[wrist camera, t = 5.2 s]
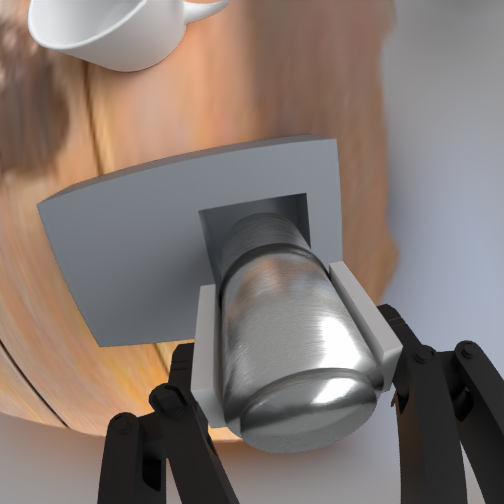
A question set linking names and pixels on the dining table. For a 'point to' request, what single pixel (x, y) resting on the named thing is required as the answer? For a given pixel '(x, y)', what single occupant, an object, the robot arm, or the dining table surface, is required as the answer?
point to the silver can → (288, 343)
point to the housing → (183, 229)
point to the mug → (115, 29)
